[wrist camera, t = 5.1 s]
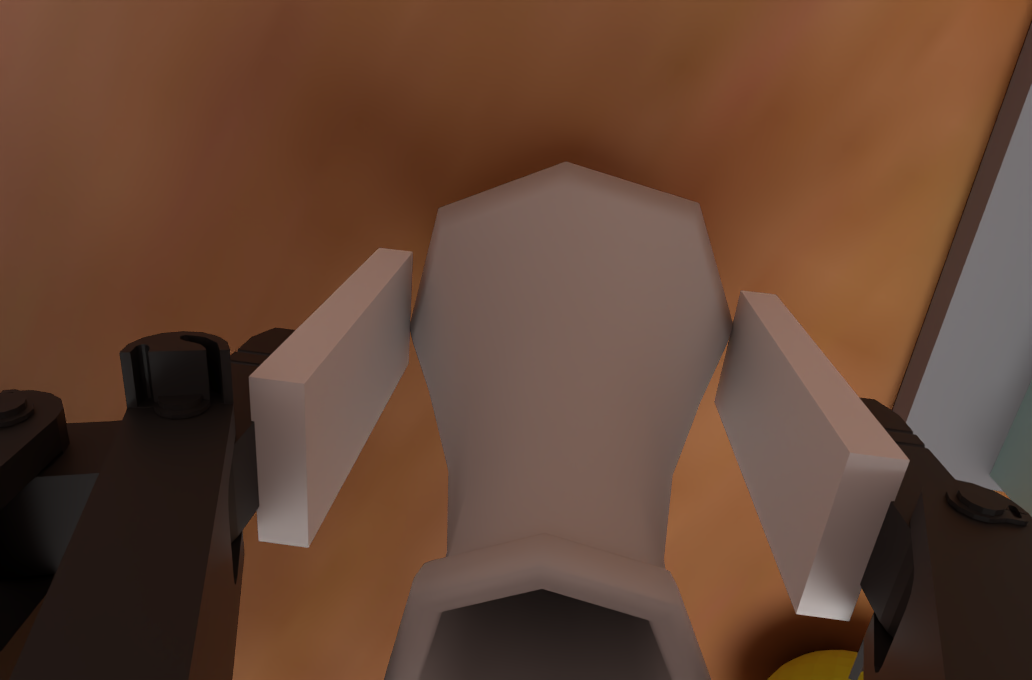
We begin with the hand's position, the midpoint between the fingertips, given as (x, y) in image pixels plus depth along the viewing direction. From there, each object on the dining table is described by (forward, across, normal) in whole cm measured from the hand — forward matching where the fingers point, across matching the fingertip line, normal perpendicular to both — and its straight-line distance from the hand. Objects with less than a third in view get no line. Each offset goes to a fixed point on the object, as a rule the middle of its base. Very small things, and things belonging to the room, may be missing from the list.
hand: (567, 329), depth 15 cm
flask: (+1, 0, 0) cm, 1 cm away
